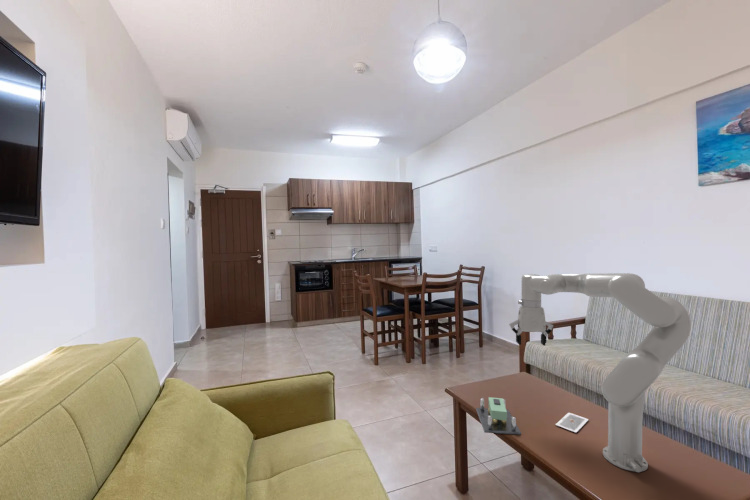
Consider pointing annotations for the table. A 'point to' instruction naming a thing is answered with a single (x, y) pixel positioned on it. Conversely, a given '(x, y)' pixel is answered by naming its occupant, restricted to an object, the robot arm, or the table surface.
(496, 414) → the green block
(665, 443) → the table surface
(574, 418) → the touchpad
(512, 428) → the chassis
